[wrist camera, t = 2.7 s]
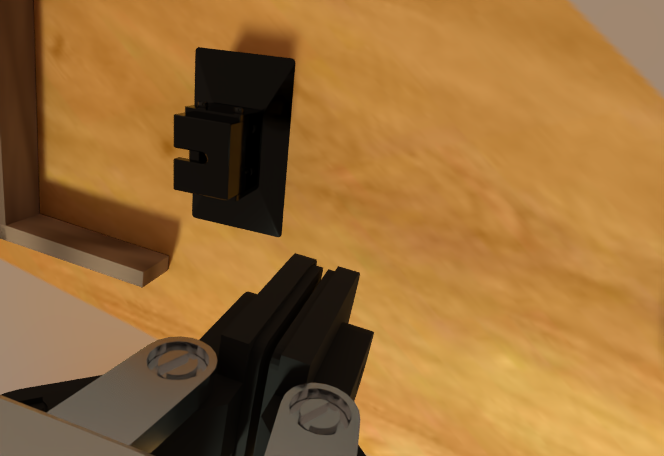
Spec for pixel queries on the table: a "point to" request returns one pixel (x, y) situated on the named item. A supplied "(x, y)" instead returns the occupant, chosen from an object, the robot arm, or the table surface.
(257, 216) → the build plate
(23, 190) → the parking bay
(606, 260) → the table surface
